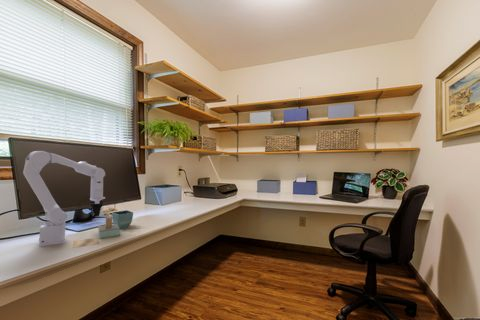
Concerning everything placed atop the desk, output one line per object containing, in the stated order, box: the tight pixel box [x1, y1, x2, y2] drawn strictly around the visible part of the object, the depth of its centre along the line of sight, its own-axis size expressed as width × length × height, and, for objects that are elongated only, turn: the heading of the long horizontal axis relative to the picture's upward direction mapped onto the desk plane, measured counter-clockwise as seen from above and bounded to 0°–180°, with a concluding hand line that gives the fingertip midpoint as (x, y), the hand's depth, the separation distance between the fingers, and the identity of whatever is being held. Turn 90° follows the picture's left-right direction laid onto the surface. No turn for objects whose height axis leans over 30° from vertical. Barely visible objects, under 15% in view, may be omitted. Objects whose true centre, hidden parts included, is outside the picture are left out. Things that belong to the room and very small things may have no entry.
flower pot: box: [111, 210, 134, 230], centre depth 133 cm, size 9×9×9 cm
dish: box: [97, 229, 121, 240], centre depth 119 cm, size 9×9×4 cm
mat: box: [72, 236, 100, 249], centre depth 108 cm, size 10×10×1 cm
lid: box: [97, 216, 119, 232], centre depth 119 cm, size 9×9×6 cm
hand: (96, 214), depth 122 cm, fingers open, 7 cm apart
